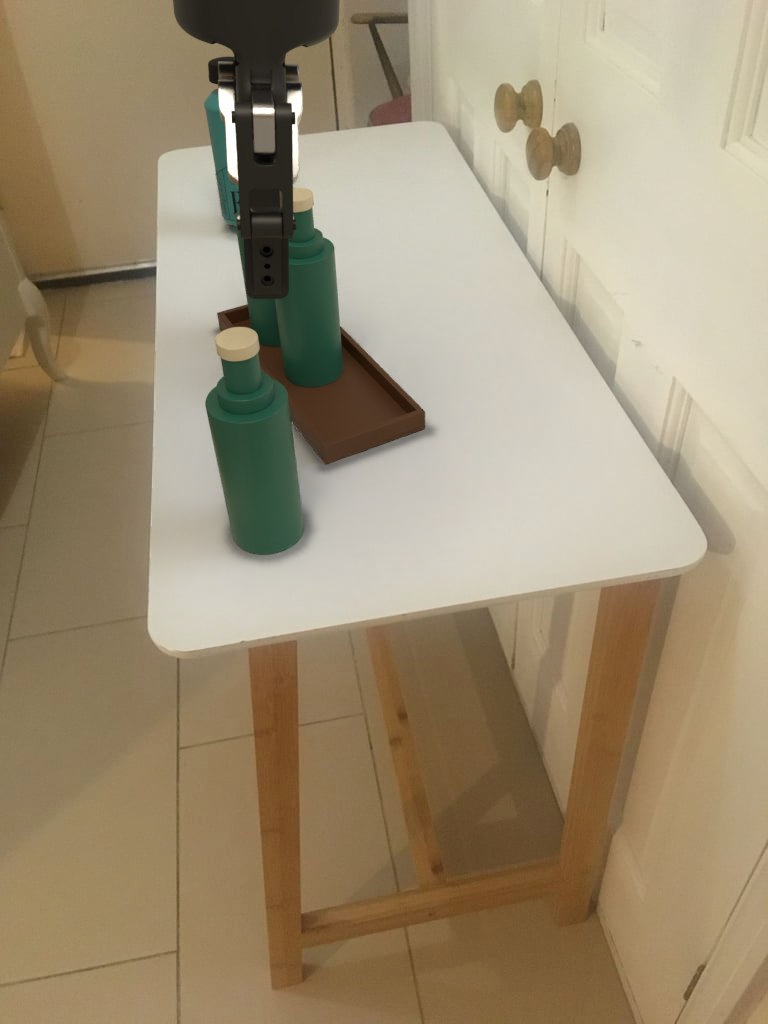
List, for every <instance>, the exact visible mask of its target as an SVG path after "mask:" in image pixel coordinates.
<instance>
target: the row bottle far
mask: <svg viewBox="0 0 768 1024" xmlns="http://www.w3.org/2000/svg"><path fill="white" fill-rule="evenodd" d="M237 214H240V210H239V211H238V212H237V213H236V214H235V217H234V218H235V225H236V226H235V230H236V237H237V244H238V250H239V259H240V264H241V271H242V278H243V284H244V289H245V290H244V291H245V296H246V304H248V310H249V317H250V324H251V329H252V330H254V331H255V332H256V333H257V335H258V340H259V343H260V344H262V345H265V346H270V347H281V344H280V336H279V328H278V320H277V312H276V305H275V299H253V298H251V297H249V296H248V295H247V293H246V279H245V258H244V239H241V230H239V231H237Z"/></svg>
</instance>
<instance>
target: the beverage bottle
mask: <svg viewBox="0 0 768 1024" xmlns="http://www.w3.org/2000/svg"><path fill="white" fill-rule="evenodd" d="M233 58H234V56H220V57H219V56H218V57H215V58H213V59H212V58H211V59H210V60H209V61H208V63H207V69H208V70H207V71H208V81H209V82H210V84H214V85H218V80H219V74H218V61H223V62H234V60H233ZM203 107H204V109H205V110H204V111H205V116H206V122H207V128H208V134H209V139H210V145H211V152H212V157H213V158H212V159H213V163H214V171H215V174H214V175H215V180H216V181H215V182H216V187H217V188H216V190H217V193H218V200H219V201H218V202H219V206H220V207H219V208H220V209H219V210H220V213H221V217H222V219H223V221H224V222H225V223H226V224H228V225H231V226H233V227H236V225H235V218H234V217H235V214H236V213H237V212H238V211H239V210H240V207H239V188H238V186H237V185H236V184H234V183H232V182H231V181H230V179H229V177H228V169H227V150H226V129H225V123H224V122H223V121H222V119H221V117H220V110H219V96H218V88H215V89H213V90H212V91H211V92H210V94H209V95H208V96H207V97H206V99H205V100H204V103H203Z"/></svg>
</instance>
